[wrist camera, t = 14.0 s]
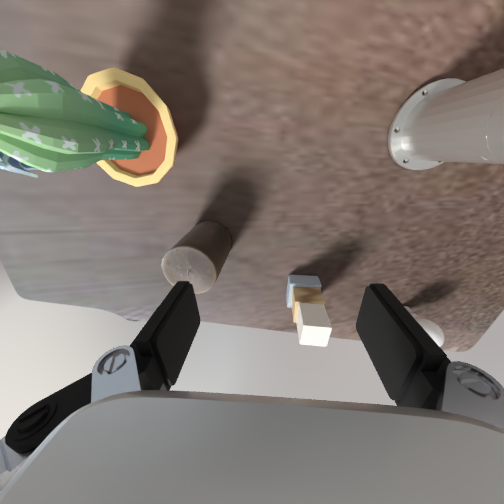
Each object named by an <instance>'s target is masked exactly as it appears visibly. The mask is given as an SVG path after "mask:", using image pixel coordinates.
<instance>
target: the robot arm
mask: <svg viewBox="0 0 504 504" xmlns="http://www.w3.org/2000/svg"><path fill="white" fill-rule="evenodd" d="M422 92H423V95H422ZM394 130H395V132H394ZM388 149H389V152H390V155H391V157H392V158H393V160H394V161H395V162H396V163H397V164H398V165H400V166H401V167H403V168H406V169H410V170H425V169H430V168H433V167H435V166H438V165H440V164H442V163H444V162H445V161H446V162H469V163H492V164H504V68H503V69H500V70H497V71H495V72H492V73H489V74H487V75H484V76H481V77H478V78H476V79H473V80H470V81H468V82H466V81H464V80H461V79H458V78H446V79H441V80H438V81H435V82H432V83H430V84H428V85H426V86H424V87H422V88H421V89H419V90H418V91H416V92H415V93H413V94H412V95H411V96H410V97H409V98H408V99H407V100H406V101H405V102H404V103H403V105H402V106H401V107H400V108H399V110H398V112H397V113H396V115H395V117H394V119H393V121H392V123H391V126H390V130H389V134H388ZM403 161H404V162H403ZM199 325H200V316H199V311H198V306H197V302H196V297H195V293H194V288H193V284H190V282H189V281H178V282H177V283H176V284H175V285H174V287H173V288H172V290H171V291H170V292H169V294H168V295H167V296H166V298H165V299H164V300H163V302H162V303H161V305H160V306H159V307H158V308H157V309H156V311H155V312H154V313H153V315H152V316H151V318H150V319H149V320H148V322H147V323H146V325H145V326H144V327H143V328H142V330H141V331H140V333H139V334H138V335H137V337H136V338H135V339H134V341H133V342H132V344H131V345H130V346H119V347H116V348H113V349H111V350H109V351H108V352H106V353H105V354H104V355H102V356H101V357H100V358H99V359H98V360H97V362H96V363H95V365H94V367H93V371H92V373H90V374H89V375H87V376H85V377H83V378H81V379H80V380H77V381H76V382H74V383H72V384H70V385H68V386H66V387H65V388H63V389H61V390H59V391H57V392H55V393H54V394H52V395H50V396H48V397H46V398H44V399H42V400H41V401H39V402H37V403H36V404H34V405H33V406H31V407H29V408H28V409H27V410H26V411H24V412H23V413H22V414H21V415H20V416H19V417H18V418H17V419H16V420H15V421H14V422H13V424H12V425H11V427H10V428H9V429H8V432H7V434H6V436H5V437H3V438H2V439H1V440H0V504H504V388H503V387H502V385H501V384H500V383H499V382H498V381H497V380H496V379H495V378H493V377H492V376H491V375H489V374H488V373H486V372H485V371H483V370H481V369H479V368H478V367H476V366H473V365H471V364H468V363H464V362H460V361H457V362H451V361H450V360H449V359H448V358H447V357H446V356H447V355H446V354H445V353H444V352H443V350H442V349H441V348H440V347H439V346H438V345H437V344H436V342H435V341H434V340H433V339H432V338H431V337H430V336H429V334H428V333H427V332H426V331H425V330H424V329H423V328H422V326H421V325H420V324H419V323H418V322H417V321H416V320H415V318H414V317H413V316H412V315H411V314H410V313H409V312H408V310H407V309H406V308H405V307H404V306H403V305H402V304H401V302H400V301H399V300H398V299H397V298H396V297H395V296H394V294H393V293H392V292H391V291H390V290H389V289H388V288H387V286H386V285H384V284H370V285H369V286H367V287H366V289H365V293H364V296H363V300H362V304H361V307H360V311H359V315H358V319H357V322H356V329H357V332H358V334H359V336H360V338H361V340H362V342H363V344H364V346H365V348H366V350H367V352H368V354H369V356H370V358H371V360H372V362H373V365H374V367H375V369H376V371H377V372H378V375H379V377H380V379H381V381H382V383H383V385H384V387H385V389H386V391H387V393H388V395H389V397H390V398H391V399H392V400H395V402H396V404H397V406H390V405H380V404H365V403H352V402H339V401H326V400H312V399H297V398H283V397H268V396H254V395H238V394H237V395H236V394H222V393H206V392H189V391H169V390H170V388H171V385H174V384H175V383H176V381H177V378H178V376H179V373H180V371H181V369H182V366H183V364H184V361H185V359H186V356H187V354H188V352H189V349H190V347H191V344H192V342H193V340H194V337H195V335H196V332H197V330H198V327H199Z"/></svg>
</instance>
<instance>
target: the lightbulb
mask: <svg viewBox="0 0 504 504" xmlns="http://www.w3.org/2000/svg"><path fill="white" fill-rule="evenodd" d="M404 307H405V308H406V309H407V310H408V312H409V313H410V314H411V315H412V316H413V317H414V318H415V320H416V321H417V322H418V323H419V324H420V325H421V326H422V328H423V329H424V330H425V331H426V332H427V333H428V334H429V336H430V337H431V338H432V339H433V340H434V341H435V342H436V344H437V345H438V346H439V347H441V346H442V345H443V343H444V333H443V331H442V330H441V328H440V327H439V326H438V325H437V324H436V323H434V322H432V321H430V320H428V319H424V318H421V317H420V316H418V315H417V314H415V313H414V312H413V311H412V310H411V309H410V308H409V307H408V306H404Z"/></svg>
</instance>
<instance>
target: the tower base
mask: <svg viewBox="0 0 504 504" xmlns="http://www.w3.org/2000/svg"><path fill="white" fill-rule="evenodd" d="M321 286H322V285H321V283H320V280H319V278H318V276H306V275H289V277H288V286H287V295H286V300H287V307H292V290H293V287H320V290H321Z"/></svg>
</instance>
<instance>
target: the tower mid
mask: <svg viewBox="0 0 504 504" xmlns="http://www.w3.org/2000/svg"><path fill="white" fill-rule="evenodd" d="M299 303H310V304H323V305H324V306H325V300H324V298H323V295H322V292H321V290H320V287H293V290H292V313H293V321H294V323H296V318H297V312H298V306H299Z"/></svg>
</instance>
